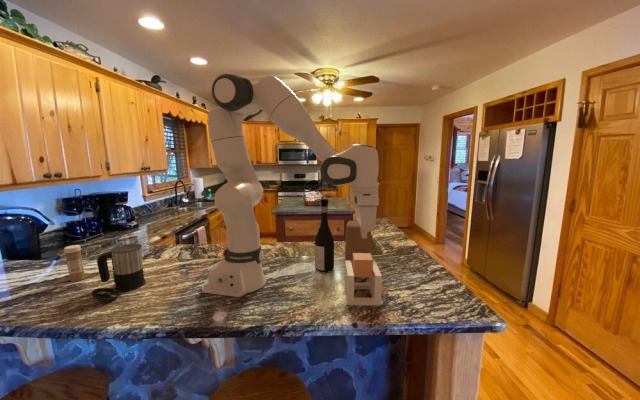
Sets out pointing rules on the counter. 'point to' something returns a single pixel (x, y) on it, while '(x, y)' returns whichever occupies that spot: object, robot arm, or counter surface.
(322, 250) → the wine bottle
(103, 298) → the milk frother
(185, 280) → the counter surface
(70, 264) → the pill bottle
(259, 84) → the robot arm
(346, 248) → the wooden block
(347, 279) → the chute
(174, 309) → the counter surface
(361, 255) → the block
